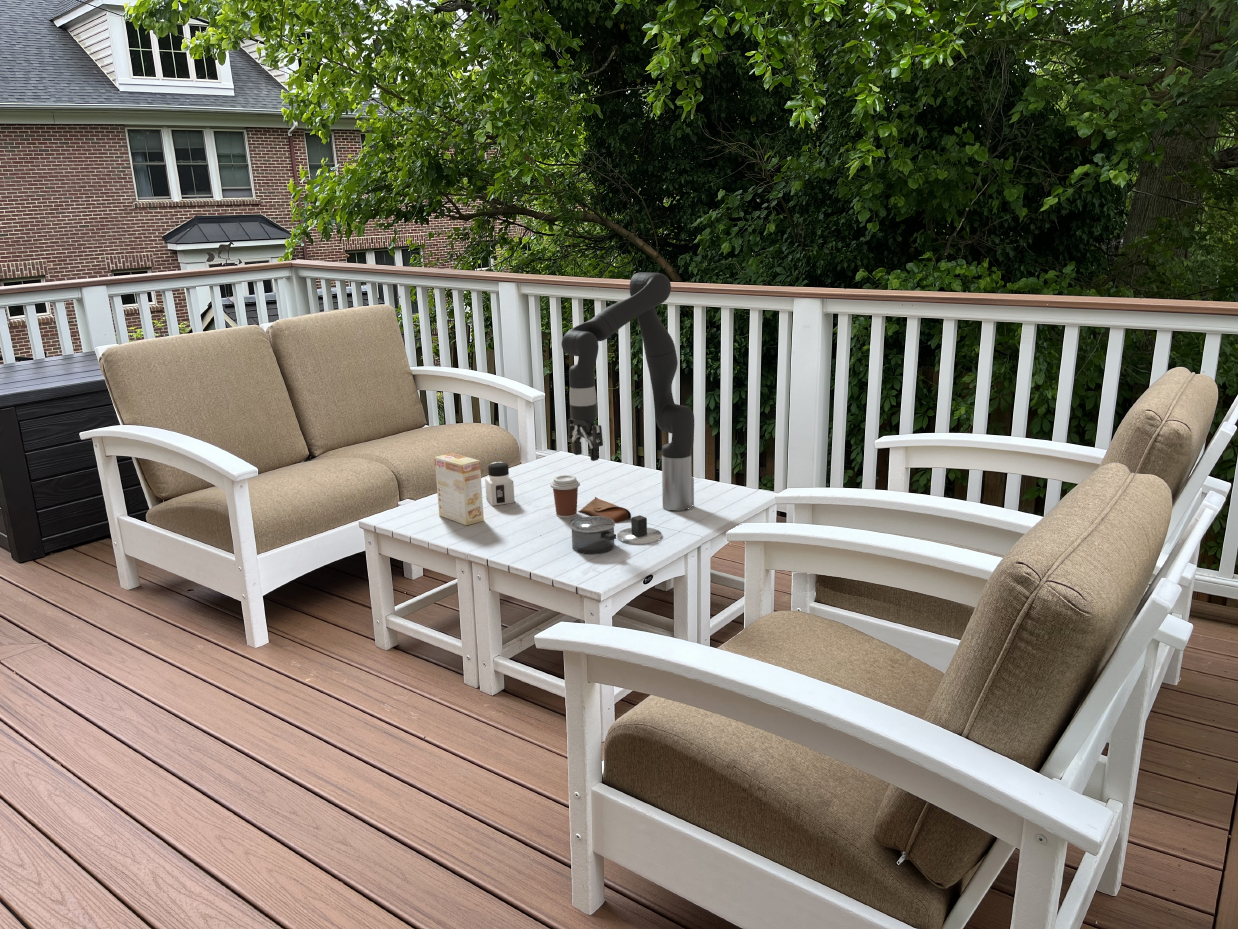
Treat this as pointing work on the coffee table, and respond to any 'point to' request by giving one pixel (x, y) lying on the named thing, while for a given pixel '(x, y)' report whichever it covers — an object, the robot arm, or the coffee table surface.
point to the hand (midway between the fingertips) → (586, 457)
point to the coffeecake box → (459, 488)
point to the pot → (592, 534)
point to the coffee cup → (565, 495)
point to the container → (499, 484)
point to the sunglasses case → (606, 510)
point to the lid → (639, 532)
